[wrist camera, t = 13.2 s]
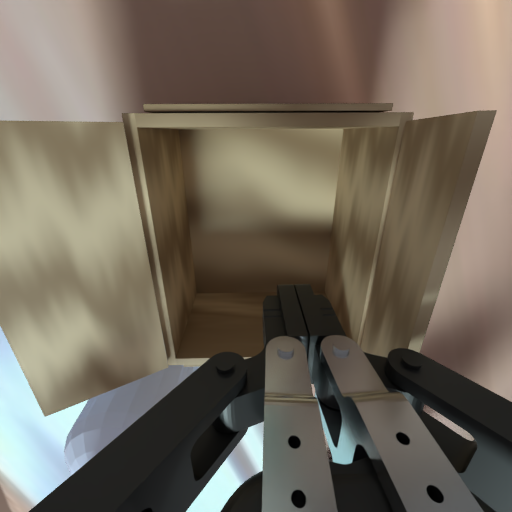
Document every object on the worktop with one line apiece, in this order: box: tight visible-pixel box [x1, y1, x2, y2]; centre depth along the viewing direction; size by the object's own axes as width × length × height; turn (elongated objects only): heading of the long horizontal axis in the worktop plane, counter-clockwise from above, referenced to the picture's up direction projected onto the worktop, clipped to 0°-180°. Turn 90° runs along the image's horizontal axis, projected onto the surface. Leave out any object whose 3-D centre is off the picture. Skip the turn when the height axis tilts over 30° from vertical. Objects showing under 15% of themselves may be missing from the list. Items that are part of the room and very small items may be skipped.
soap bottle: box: [64, 334, 199, 475], centre depth 20 cm, size 9×9×25 cm
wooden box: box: [122, 103, 414, 367], centre depth 20 cm, size 17×14×9 cm
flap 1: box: [0, 121, 168, 416], centre depth 14 cm, size 15×1×7 cm
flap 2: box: [361, 110, 497, 357], centre depth 13 cm, size 15×1×7 cm, turn 0°
